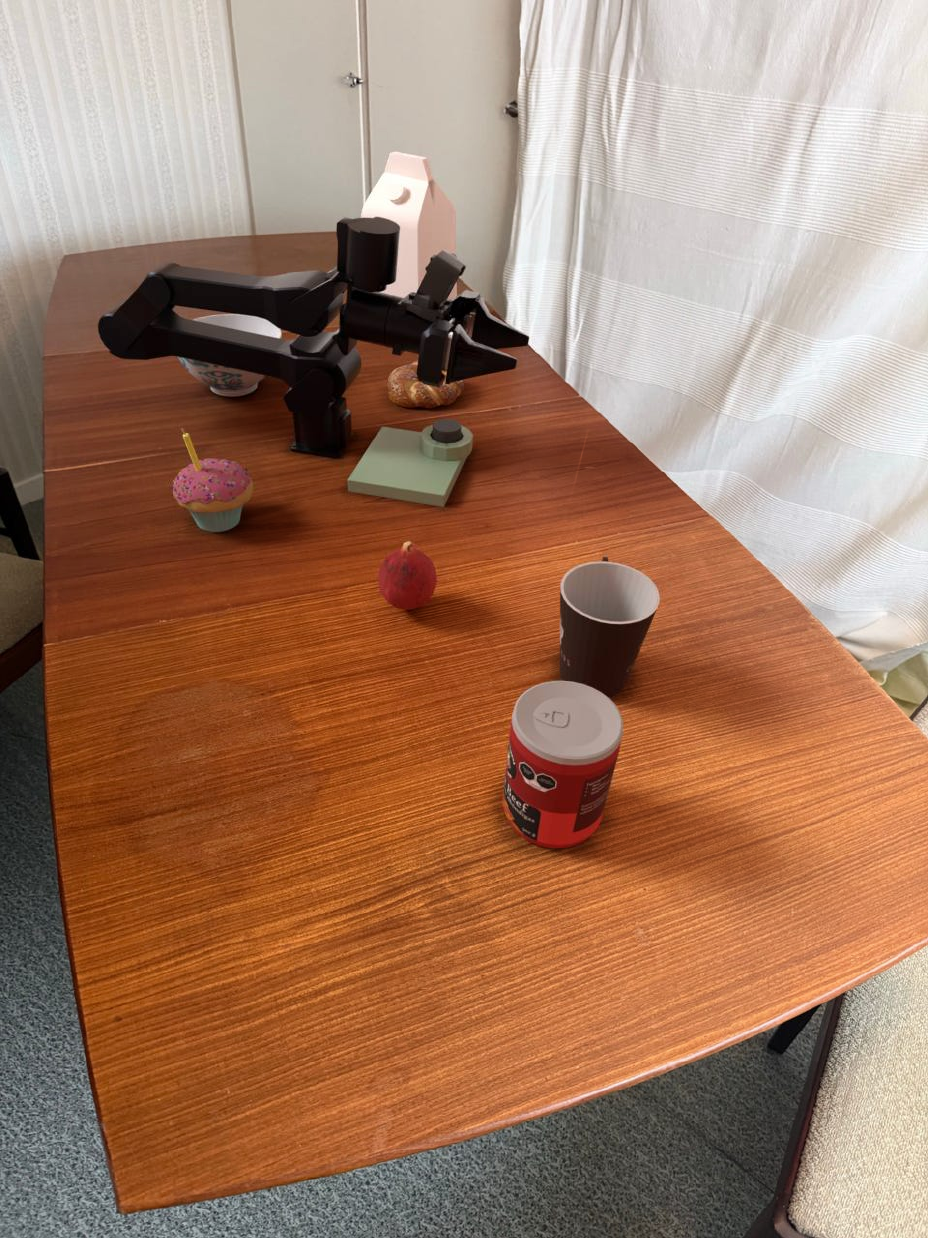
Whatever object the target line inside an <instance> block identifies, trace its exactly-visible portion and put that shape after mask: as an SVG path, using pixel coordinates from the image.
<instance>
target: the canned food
mask: <svg viewBox="0 0 928 1238" xmlns="http://www.w3.org/2000/svg"><path fill="white" fill-rule="evenodd" d="M513 707H514V708H513V711H512V713H511V721H510V726H509V727H510V729H509V736H508V737H509V738H508V745H507V746H508V747H507V755H506V764H505V773H504V783H503V791H502V807H503V812H504V814H505V816H506V820H507V821H508V823H509V825H510V826H511V828H512V829H513V831H515V833H517V834H518V835H519V836H520V837H522V838H523V839H525V840H526V841H528V842H530V843H532V844H534V845H537V846H540V847H543V848H546V849H547V848H548V849H565V848H570V847H575V846H578V845H579V844H581V843H583V842H585V841H587V839H589V838H590V837H591V836H592V834H593V833H594V832H595V831H596V830H597V829H598V827H599V825H600V824H601V821H602V819H603V815H604V811H605V808H606V807H605V806H606V803H607V799H608V795H609V791H610V788H611V784H612V780H613V777H614V772H615V768H616V765H617V761H618V757H619V754H620V749H621V744H622V741H623V735H624V719H623V717H622V713H621V710H619V708H618V706H617V705H616V703H614V701H612V699H611V698H610V697H607V696H606V695H604V694H603V693H602V692H600V691H598V690H596V689H594V688H592V687H589V686H587V685H584V684H580V683H576V682H570V681H563V680H553V681H552V680H551V681H544V682H542V683H539V684H536V685H532V687H530V688H528V689H526V690H525V691H524V692H523V693H522V694H521V695H520V696H518V699H517V700H516V702H515V703H514V706H513Z"/></svg>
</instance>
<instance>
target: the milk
mask: <svg viewBox="0 0 928 1238" xmlns="http://www.w3.org/2000/svg"><path fill="white" fill-rule="evenodd" d="M360 213H361V214H360V218H374V217H381V218H385V219H389V220H391V221H394V222H395V223H397V224H398V225H399V226H400V236H399V249H398V261H397V273H396V281H395V282H394V283H392V284H390V285H387V288H386V290H384V291H382V292H381V293H385V294H389V295H394V296H398V297H403V298H405V297H406V296H407V295H408V294H410V293H411V292H414V293H417V290H418V288H419V286H420V284H421V282H422V280H423V278H424V276H425V274H426V270H425V268H426V266H428V264H429V263H430V261H431V260H430V258H431V257H432V256H433V255H437V254H438V253H440V252H441V251H442V250H443V251H445V252H447V253H449V254H451V253H454V254H456V255H457V220H456V219H457V218H456V210H455V207H454V205H453V203H452V201H451V200H450V199H449V197H448V196H447V195H446V194H445V192H444V191H443V190H442V188H441V187H440V186H439V184H438V183H437V182H436V181H435V180H434V175H433V172H432V168H431V165H430V162H429V159H428V157H426V156H421V155H415V154H410V153H405V152H400V151H392V152H389V155H388V158H387V162H386V164H385V167H384V172H383V173H382V175H381V176H380V178H379V179H378V181H377V182H376V184H375V185H374V187H373V189H372V190H371V192H370V194H369V195H368V197H367V199H366V201H365V202H364V204H363V207H362V210H361V212H360ZM457 282H458V281H457ZM457 282H456V284H455V285H454V287H453V289H452V291H451V293H450V295H449V297H448V298H447V299H451V300H452V301H453V300H454V299H455V298H456V297H457V296H458V283H457Z"/></svg>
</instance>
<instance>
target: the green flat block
mask: <svg viewBox="0 0 928 1238" xmlns="http://www.w3.org/2000/svg"><path fill="white" fill-rule="evenodd" d="M473 443H474V435H473V433H472V432H471V430H470V429H469V428H467V427H465V426H463V425H461V439H460V441H458V442H456V443H447V444H446V443H440V442H437V441H435V440H433V424H431V425H428V426H426V427H424V428H423V429H422V431H414V430H409V429H401V428H394V427H388V426H381V428H380V429H379V431H378V432H377V433H376V436H375V437H374V438H373V440H372V442H371V443H370V445H369V446H368V448H367V449H366V450H365V452H364V454H363V455H362V457H361V458H360V459H359V461H358V463H357V464H356V466H355V467H354V469H353V470H352V472H351V474H350V475H349V477H348V478H347V492H349V493H357V494H364V495H369V496H374V497H380V498H382V497H383V498H387V499H393V500H398V501H399V500H400V501H406V502H411V503H417V504H423V505H429V506H435V507H441V508H444V507H445V505H446V504H447V501H448V499H449V497H450V495H451V492H452V490H453V488H454V486H455V484H456V482H457V480H458V477H459V475H460V473H461V472H462V469H463V466H464V464H465V462H466V461H467V458H468V456H469V455H471V452H472V450H473V446H474V445H473Z"/></svg>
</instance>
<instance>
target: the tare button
mask: <svg viewBox="0 0 928 1238" xmlns="http://www.w3.org/2000/svg"><path fill="white" fill-rule="evenodd" d="M432 425H433V440H435V441H437V442H440V443H446V444H447V443H456V442H458V441H460V439H461V426H462V424H461V423H460V421H458V420H456V419H452V418H440V419H437V420H435V421H434V422H433V423H432Z"/></svg>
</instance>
